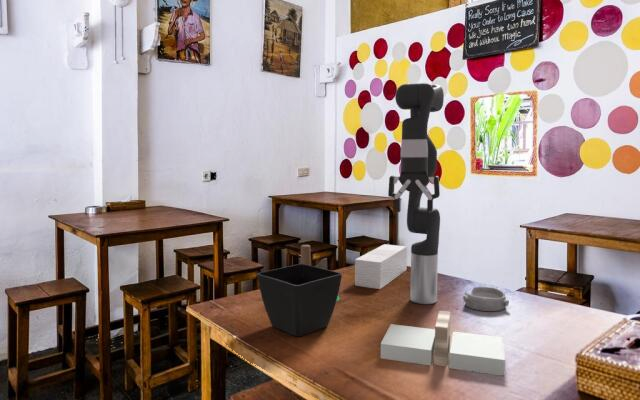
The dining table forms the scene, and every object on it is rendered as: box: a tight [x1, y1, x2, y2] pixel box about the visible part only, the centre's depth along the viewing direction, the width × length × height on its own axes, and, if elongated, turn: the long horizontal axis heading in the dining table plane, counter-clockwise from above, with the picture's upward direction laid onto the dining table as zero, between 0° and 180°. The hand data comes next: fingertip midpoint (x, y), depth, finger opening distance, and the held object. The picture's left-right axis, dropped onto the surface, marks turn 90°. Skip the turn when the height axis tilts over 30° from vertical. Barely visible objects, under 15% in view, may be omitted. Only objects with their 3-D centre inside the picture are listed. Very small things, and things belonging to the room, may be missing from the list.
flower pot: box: [257, 263, 343, 337], centre depth 143 cm, size 19×19×17 cm
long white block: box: [354, 243, 408, 290], centre depth 197 cm, size 32×11×11 cm, turn 151°
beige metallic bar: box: [433, 310, 452, 367], centre depth 123 cm, size 12×3×10 cm, turn 161°
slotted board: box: [380, 323, 506, 377], centre depth 123 cm, size 14×30×4 cm, turn 71°
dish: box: [462, 286, 510, 312], centre depth 161 cm, size 14×14×5 cm
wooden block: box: [300, 244, 328, 270], centre depth 175 cm, size 4×11×18 cm, turn 53°
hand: (413, 212), depth 135 cm, fingers open, 8 cm apart
